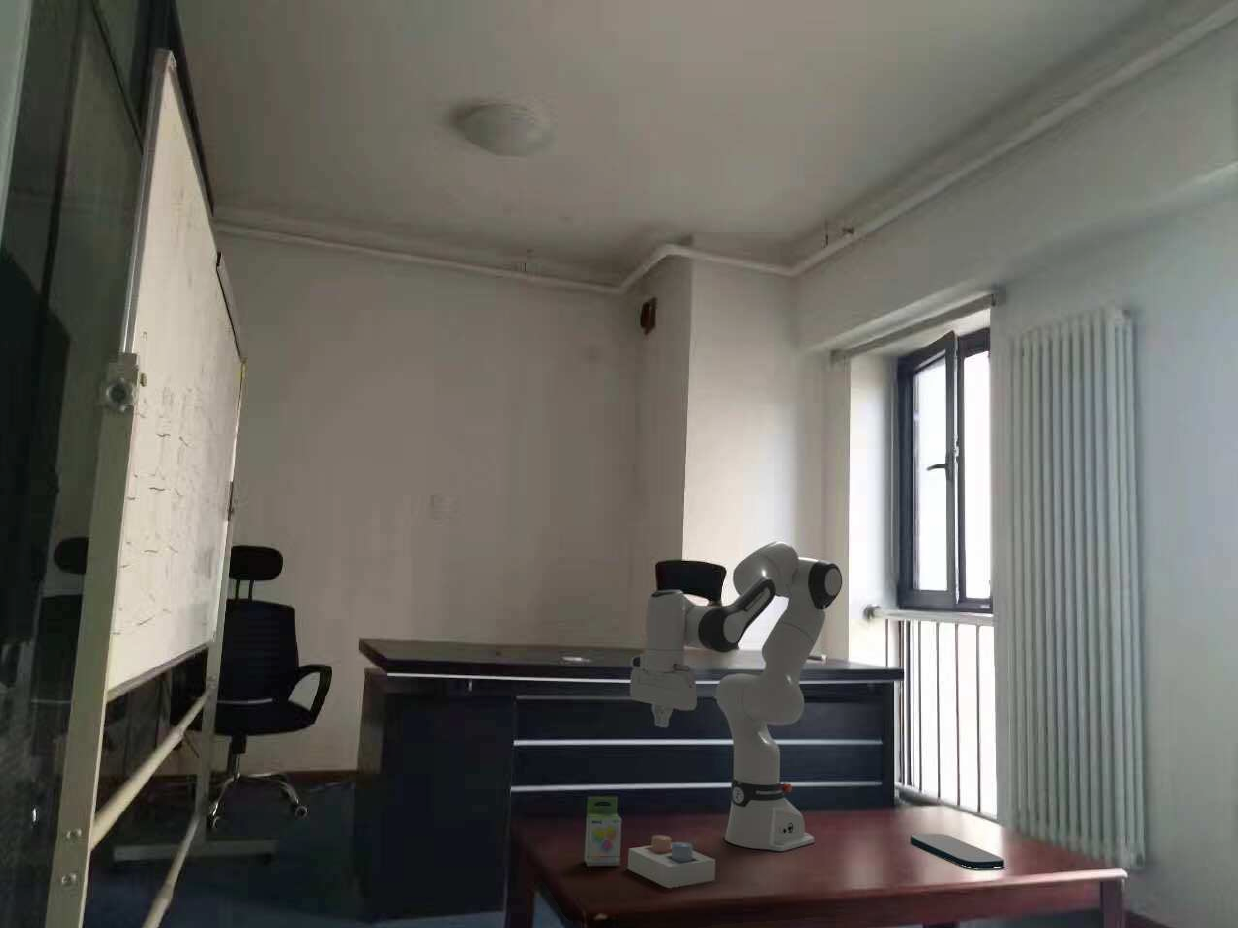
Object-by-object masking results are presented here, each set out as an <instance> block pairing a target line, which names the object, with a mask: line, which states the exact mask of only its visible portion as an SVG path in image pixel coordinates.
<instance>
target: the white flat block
mask: <svg viewBox="0 0 1238 928" xmlns="http://www.w3.org/2000/svg"><path fill="white" fill-rule="evenodd" d="M673 843H674V842H671V853H666V854H657V853H654V852H652V851H651V845H645V846H639V847H631V848H630V847H629V848H628V850H627V851H628V852H627V855H628V856H627V869H628V870H629V871H631V872H634V873H636V874H637V875H639V876H641V877H642V876H643V877H644V878H646V879H648V880H651V881H652V882H654V883H657V884H658V885H660V886H662V887H664V888H666V887H667V889H668V888H669V889H674V888H678V887H679V886H680V887H684V886H685V885H686V886H691V885H697V884H701V883H707V882H714V881H715V878H716V859H714V858H711V857H709V856H707V855H704V854H702V853H699V852H697V851H695V850H692V862H688V863H682V864H679V863H677V862H675V861H672V844H673ZM686 886H685V887H686ZM673 887H674V888H673Z"/></svg>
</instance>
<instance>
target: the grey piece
mask: <svg viewBox="0 0 1238 928" xmlns="http://www.w3.org/2000/svg"><path fill="white" fill-rule="evenodd" d="M672 843H673V844H672V861H675V862H677V863H679V864H682V863H688V862H692V850H693V848H694V846H693V843H690V842H684V841H676V842H675V841H674V842H672ZM693 851H694V850H693Z"/></svg>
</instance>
